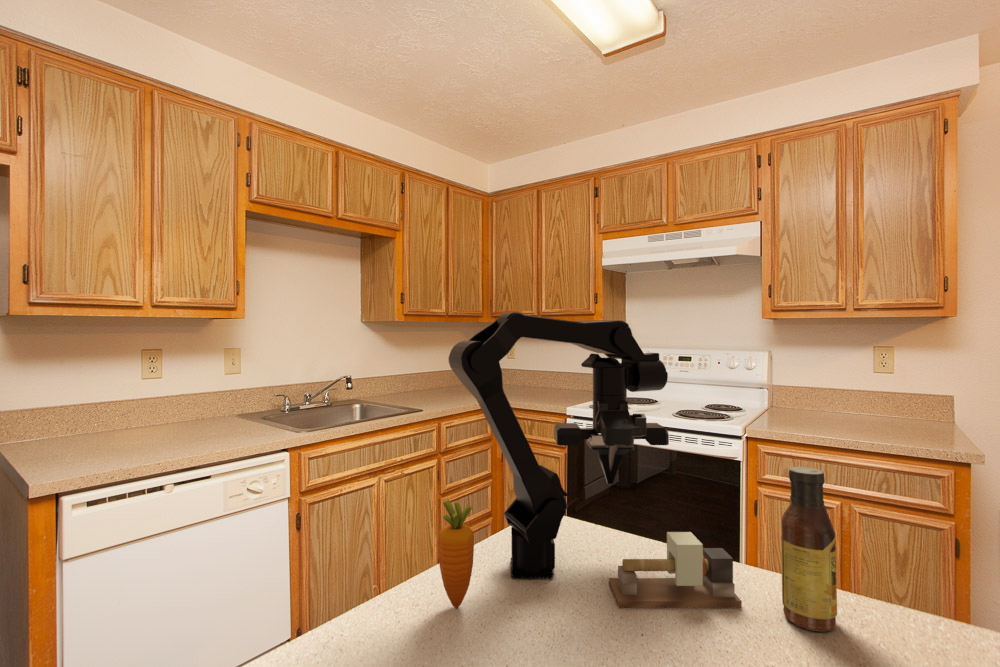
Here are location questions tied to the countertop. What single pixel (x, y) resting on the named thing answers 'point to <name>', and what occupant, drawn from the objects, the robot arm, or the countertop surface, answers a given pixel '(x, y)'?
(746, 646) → the countertop surface
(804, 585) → the sauce bottle
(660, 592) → the cable stand
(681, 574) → the cream block
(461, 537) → the carrot
